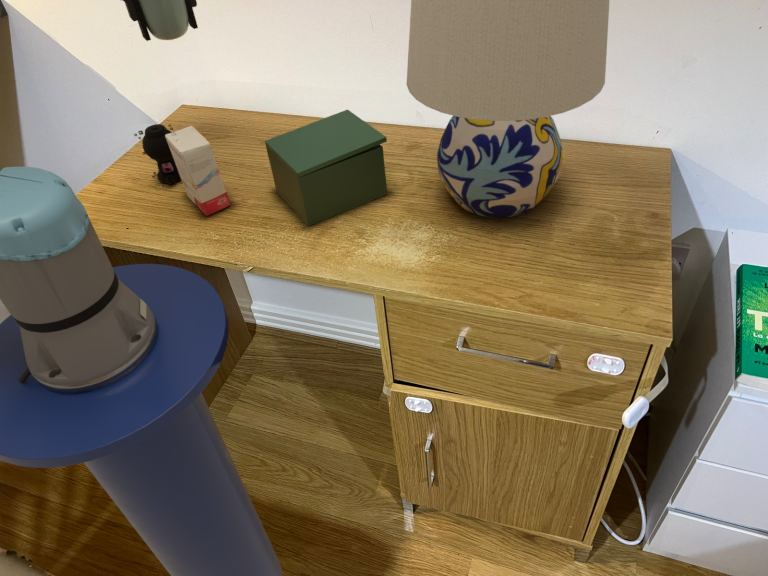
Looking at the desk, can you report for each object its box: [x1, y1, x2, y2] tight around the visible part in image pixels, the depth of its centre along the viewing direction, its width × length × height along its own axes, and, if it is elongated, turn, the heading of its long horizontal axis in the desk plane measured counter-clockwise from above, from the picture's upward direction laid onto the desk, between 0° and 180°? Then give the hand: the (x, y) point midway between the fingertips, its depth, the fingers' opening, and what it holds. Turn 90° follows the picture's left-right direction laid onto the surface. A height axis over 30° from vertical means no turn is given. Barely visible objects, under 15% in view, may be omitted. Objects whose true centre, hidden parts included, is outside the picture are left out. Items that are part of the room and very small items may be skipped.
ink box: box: [165, 125, 232, 216], centre depth 97 cm, size 9×5×12 cm, turn 35°
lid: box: [264, 109, 388, 177], centre depth 93 cm, size 15×13×1 cm
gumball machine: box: [133, 123, 181, 187], centre depth 104 cm, size 7×6×10 cm
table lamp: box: [406, 0, 610, 219], centre depth 82 cm, size 27×27×40 cm
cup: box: [138, 0, 190, 41], centre depth 104 cm, size 8×8×10 cm
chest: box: [265, 144, 388, 227], centre depth 96 cm, size 15×13×9 cm
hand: (170, 32), depth 107 cm, fingers closed on cup, 8 cm apart
